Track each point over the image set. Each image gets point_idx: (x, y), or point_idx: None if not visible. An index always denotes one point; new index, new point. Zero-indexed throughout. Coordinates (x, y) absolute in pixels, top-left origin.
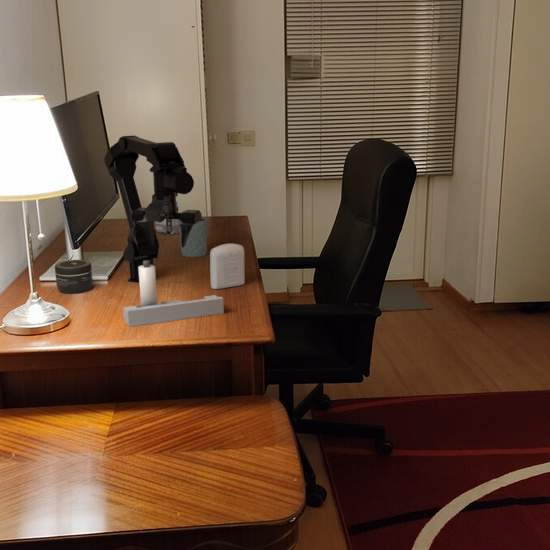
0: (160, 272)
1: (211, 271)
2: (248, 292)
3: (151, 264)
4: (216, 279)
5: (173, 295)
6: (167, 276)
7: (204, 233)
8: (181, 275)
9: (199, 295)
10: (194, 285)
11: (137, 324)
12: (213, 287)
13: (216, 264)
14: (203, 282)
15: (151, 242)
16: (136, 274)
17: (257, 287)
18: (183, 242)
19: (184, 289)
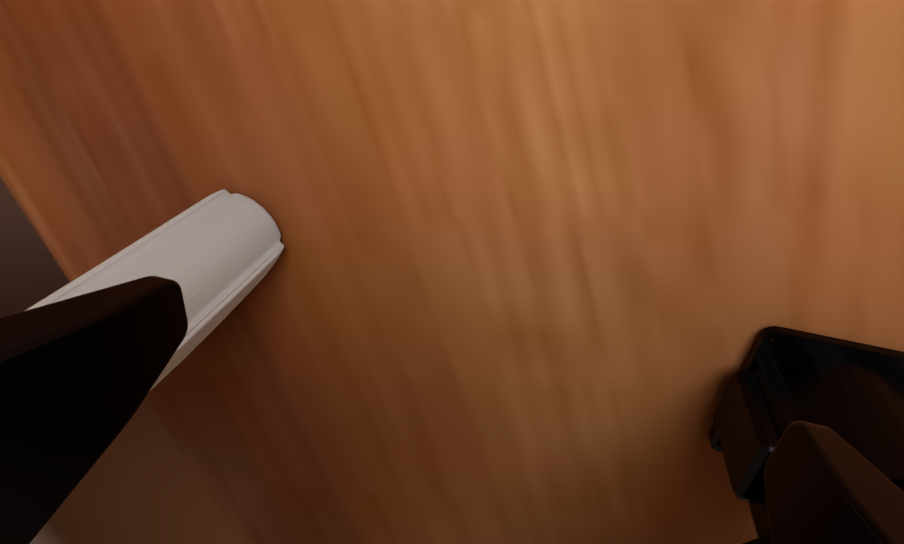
0: (695, 516)
1: (196, 269)
2: (44, 153)
3: (762, 479)
4: (182, 213)
5: (481, 22)
6: (633, 447)
7: None
8: (547, 457)
9: (286, 50)
10: (405, 276)
11: None
12: (248, 202)
13: (89, 272)
14: (372, 333)
15: (836, 468)
16: (887, 390)
17: (57, 248)
18: (49, 309)
19: (442, 188)
